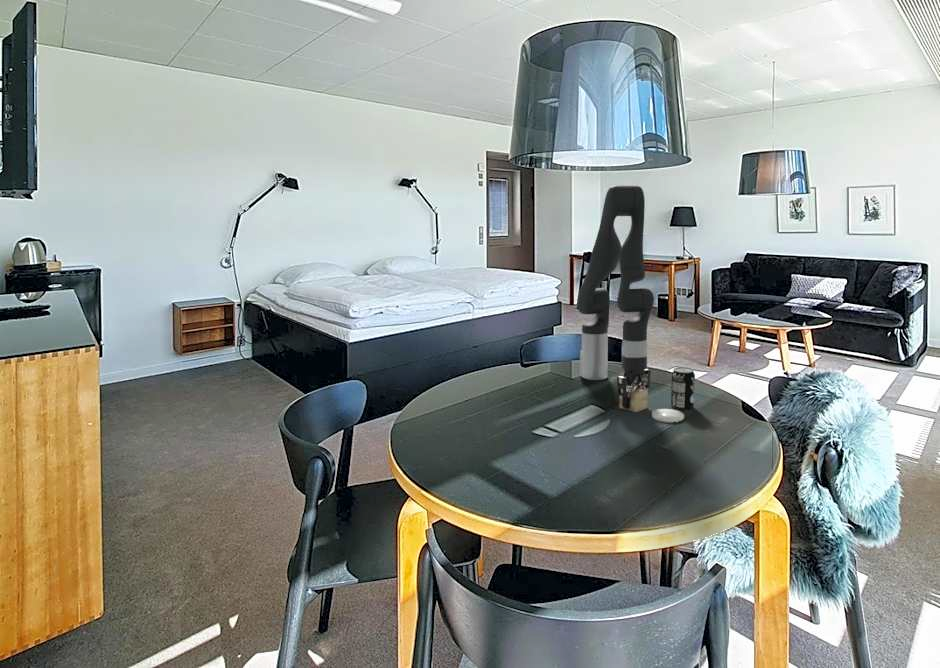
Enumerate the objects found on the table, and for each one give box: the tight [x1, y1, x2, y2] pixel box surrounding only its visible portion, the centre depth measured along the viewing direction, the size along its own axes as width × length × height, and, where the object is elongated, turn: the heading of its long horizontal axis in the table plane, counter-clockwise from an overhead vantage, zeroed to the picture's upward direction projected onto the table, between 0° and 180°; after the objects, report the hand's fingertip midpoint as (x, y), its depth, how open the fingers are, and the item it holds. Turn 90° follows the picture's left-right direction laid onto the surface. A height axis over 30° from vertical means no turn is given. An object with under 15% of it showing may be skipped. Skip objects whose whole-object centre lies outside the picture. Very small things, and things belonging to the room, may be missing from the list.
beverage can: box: [670, 366, 696, 410], centre depth 170 cm, size 7×7×12 cm
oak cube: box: [618, 386, 649, 413], centre depth 172 cm, size 6×6×6 cm
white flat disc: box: [651, 408, 685, 424], centre depth 163 cm, size 9×9×1 cm
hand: (633, 405), depth 172 cm, fingers open, 7 cm apart
